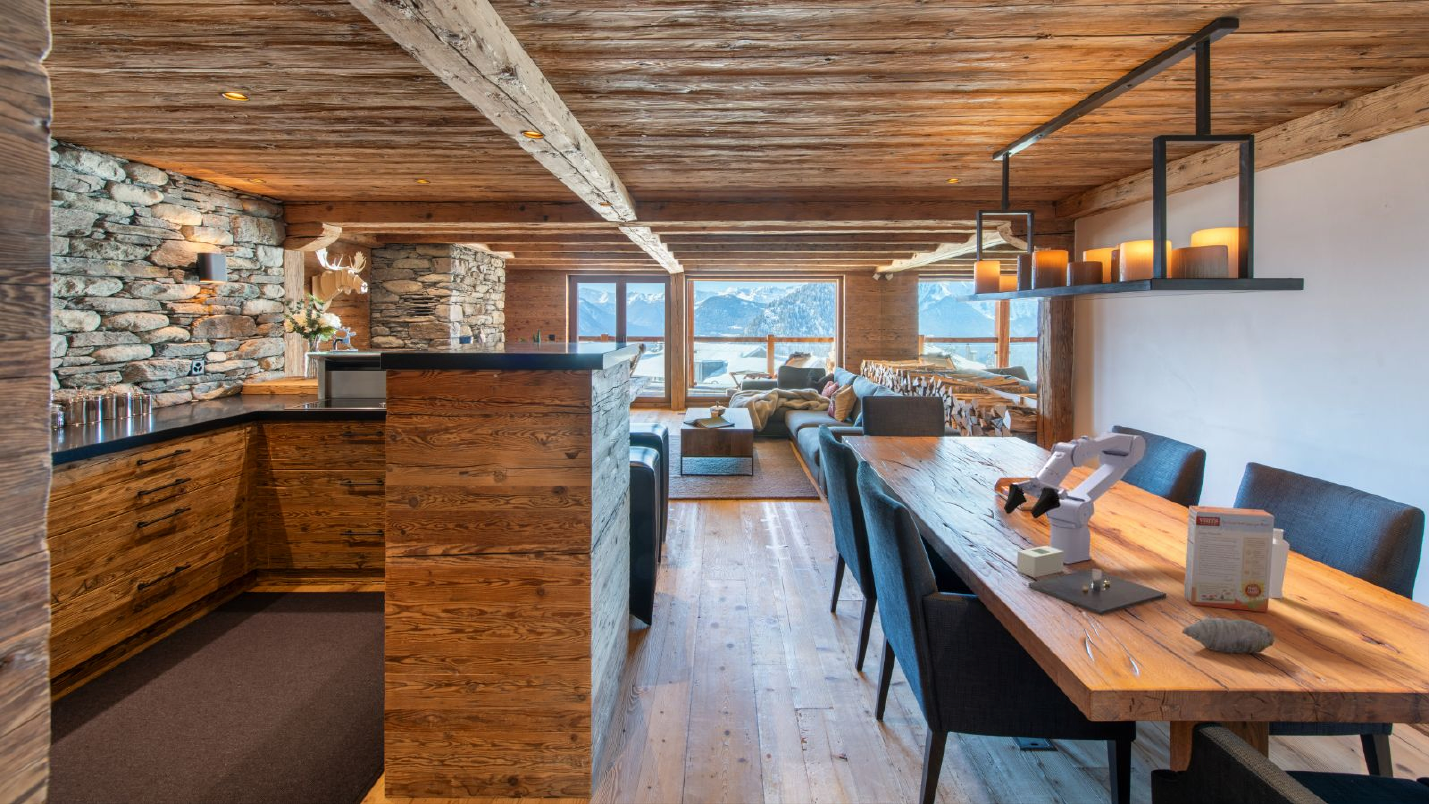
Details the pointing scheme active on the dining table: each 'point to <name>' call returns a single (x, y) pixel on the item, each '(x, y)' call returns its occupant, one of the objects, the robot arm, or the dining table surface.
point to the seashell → (1230, 635)
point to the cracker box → (1229, 558)
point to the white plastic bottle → (1278, 563)
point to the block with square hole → (1040, 561)
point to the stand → (1097, 591)
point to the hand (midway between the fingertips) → (1019, 513)
